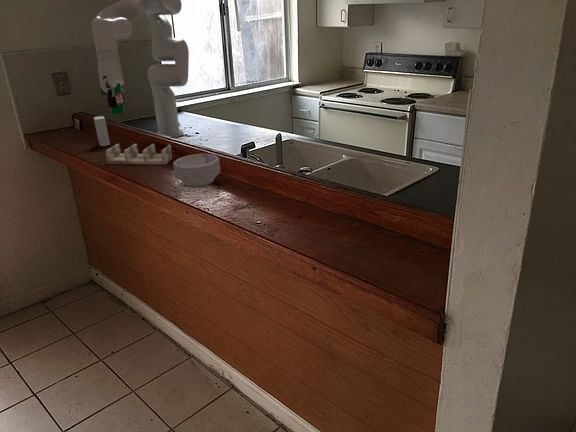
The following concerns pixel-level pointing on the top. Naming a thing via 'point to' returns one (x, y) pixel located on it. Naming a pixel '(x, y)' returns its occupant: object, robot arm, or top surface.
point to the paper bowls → (197, 169)
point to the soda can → (118, 100)
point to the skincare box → (101, 131)
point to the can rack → (138, 155)
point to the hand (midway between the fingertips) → (116, 105)
